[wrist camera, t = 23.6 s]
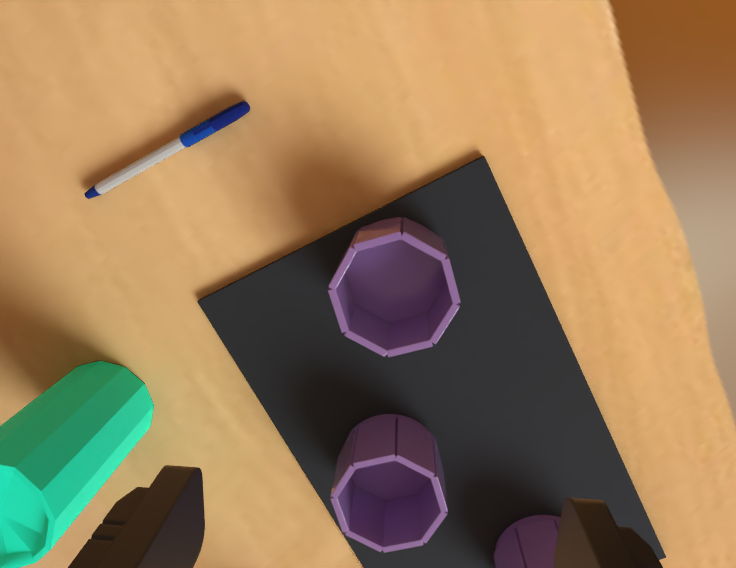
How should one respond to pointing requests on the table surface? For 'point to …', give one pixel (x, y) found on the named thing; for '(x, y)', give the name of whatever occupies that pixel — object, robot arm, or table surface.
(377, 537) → the purple octagonal cup
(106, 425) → the candle
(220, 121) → the ballpoint pen
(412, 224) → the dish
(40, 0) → the table surface
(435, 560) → the mat
